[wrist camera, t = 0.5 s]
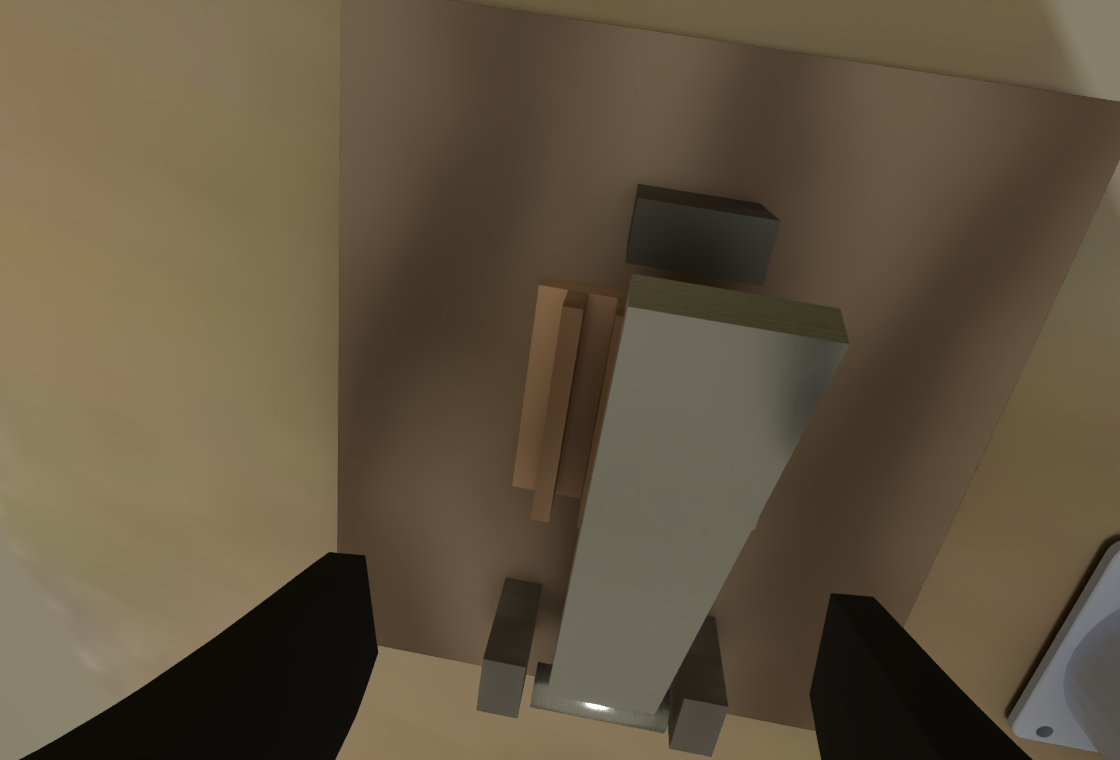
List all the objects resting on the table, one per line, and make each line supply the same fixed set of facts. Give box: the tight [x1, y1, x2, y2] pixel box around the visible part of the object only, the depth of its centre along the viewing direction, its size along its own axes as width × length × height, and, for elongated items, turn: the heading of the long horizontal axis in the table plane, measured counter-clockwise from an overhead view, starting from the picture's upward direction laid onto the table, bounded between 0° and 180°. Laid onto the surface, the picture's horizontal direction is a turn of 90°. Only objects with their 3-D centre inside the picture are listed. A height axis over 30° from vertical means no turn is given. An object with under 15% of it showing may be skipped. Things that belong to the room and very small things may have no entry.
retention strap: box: [530, 274, 850, 733], centre depth 14 cm, size 4×15×1 cm, turn 172°
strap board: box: [337, 0, 1120, 757], centre depth 18 cm, size 18×20×4 cm
